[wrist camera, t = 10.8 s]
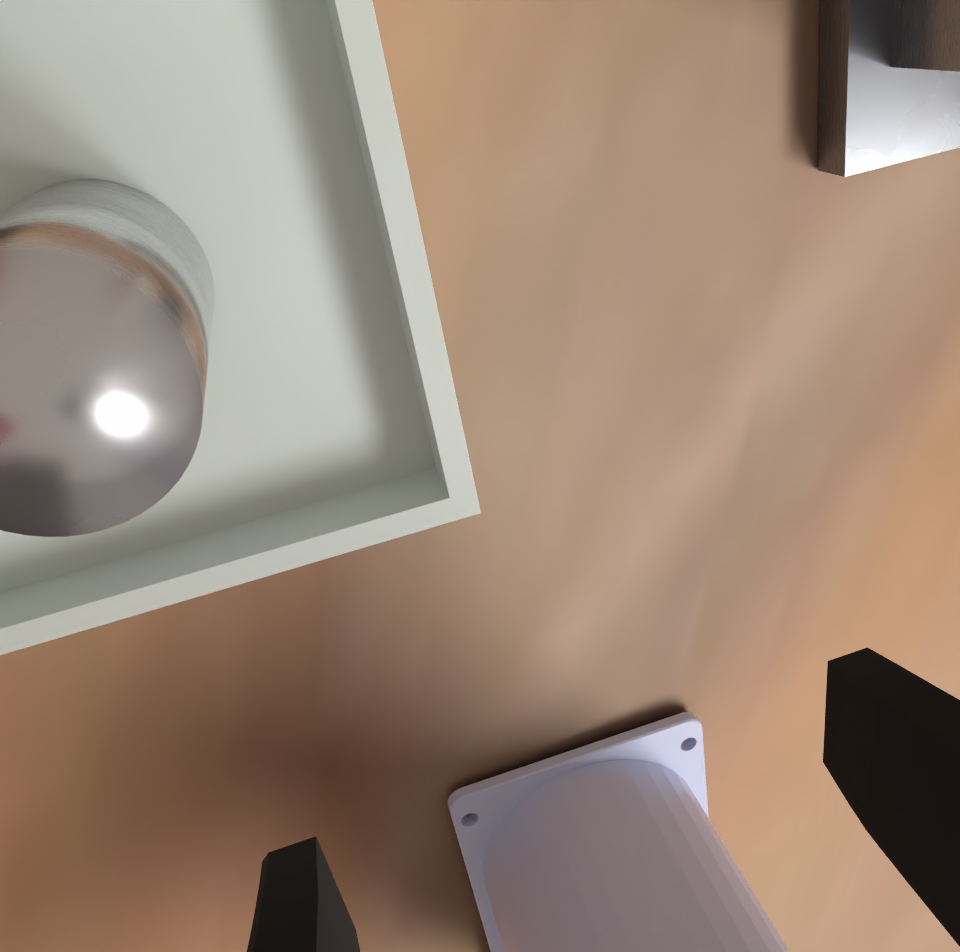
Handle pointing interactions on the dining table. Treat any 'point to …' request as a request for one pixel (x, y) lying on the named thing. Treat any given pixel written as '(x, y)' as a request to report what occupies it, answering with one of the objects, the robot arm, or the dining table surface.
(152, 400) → the steel cylinder
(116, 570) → the parts tray
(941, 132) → the grey unit
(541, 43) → the dining table surface
